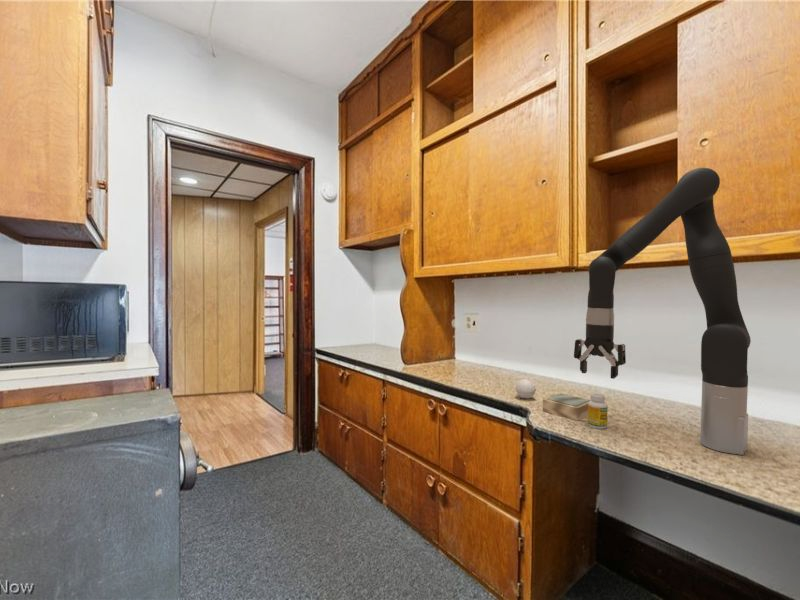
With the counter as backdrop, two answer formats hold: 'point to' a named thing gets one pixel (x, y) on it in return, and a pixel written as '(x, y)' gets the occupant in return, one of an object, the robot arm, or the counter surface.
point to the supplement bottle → (597, 411)
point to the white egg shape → (525, 388)
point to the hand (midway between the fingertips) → (598, 375)
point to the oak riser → (566, 406)
